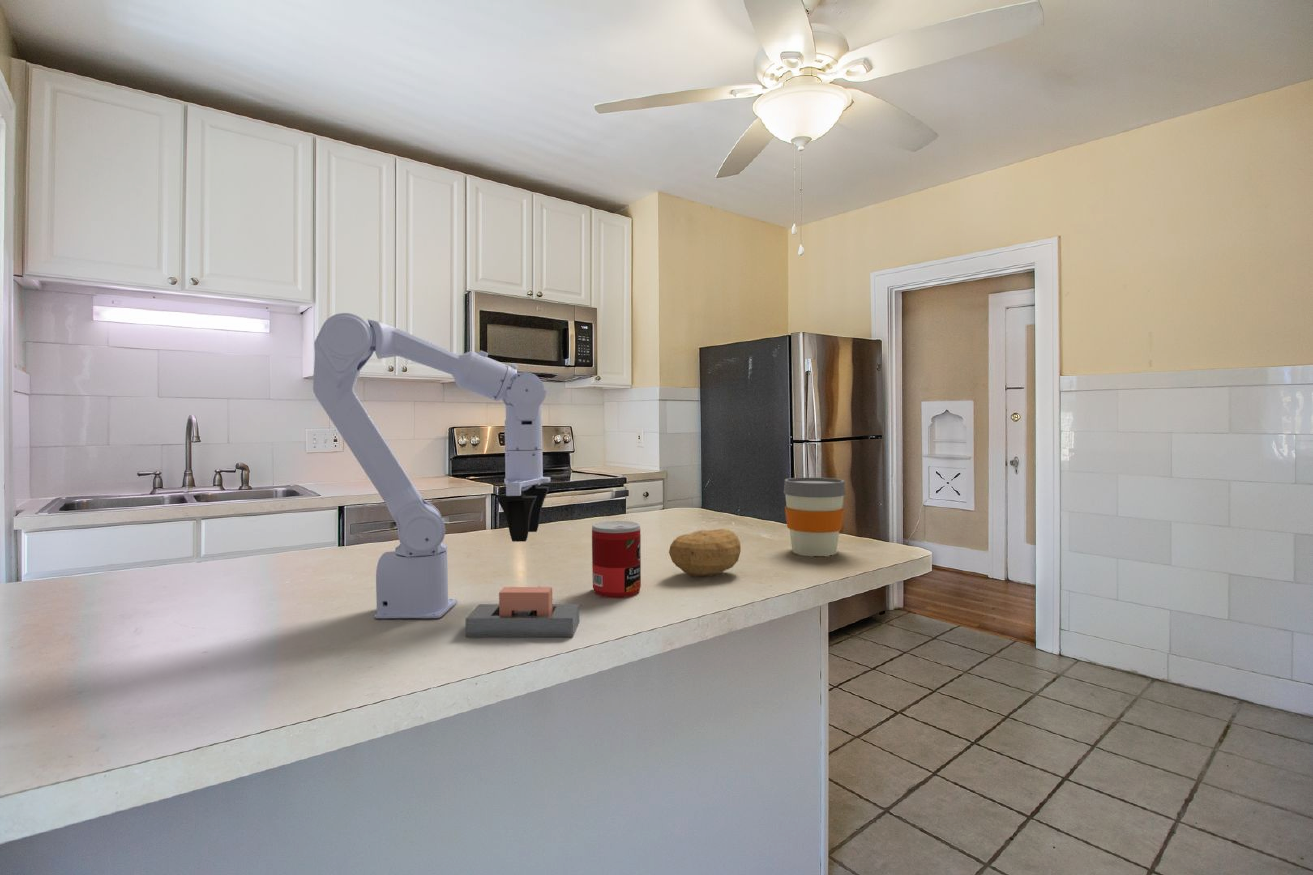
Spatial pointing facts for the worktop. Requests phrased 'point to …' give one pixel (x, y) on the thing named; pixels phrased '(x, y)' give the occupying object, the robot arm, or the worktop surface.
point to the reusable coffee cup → (814, 514)
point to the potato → (705, 552)
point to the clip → (525, 600)
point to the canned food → (616, 558)
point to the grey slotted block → (522, 622)
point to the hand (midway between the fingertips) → (525, 536)
